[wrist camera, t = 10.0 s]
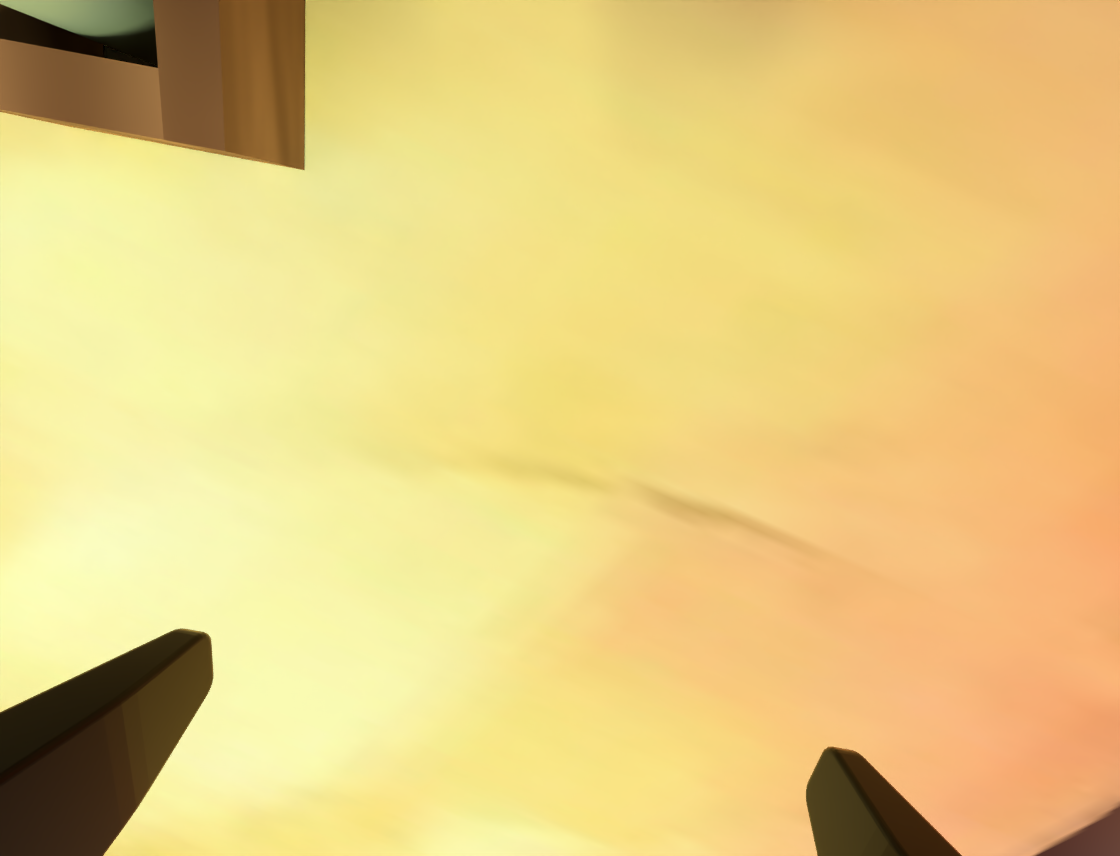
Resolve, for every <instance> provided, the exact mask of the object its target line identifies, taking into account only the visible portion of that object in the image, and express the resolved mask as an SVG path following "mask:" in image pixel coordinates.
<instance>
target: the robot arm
mask: <svg viewBox="0 0 1120 856" xmlns="http://www.w3.org/2000/svg"><path fill="white" fill-rule="evenodd" d="M212 681H213V661H212V645H211V638H210V636H209V635H208V634H207V633H205V632H200V631H194V630H189V629H176V630H173V631H171V632H169V633H166V634H164V635H162V636H160V637H158V638H156V639H154V640H152V641H150V642H147V643H145V644H143V645H141V646H139V647H137V648H135V649H133V650H131V651H128V652H126V653H124V654H122V655H120V656H118V657H116V658H114V659H112V660H110V661H107V662H105V663H103V664H101V665H99V666H97V667H95V668H93V669H91V670H88V671H86V672H84V673H82V674H80V675H78V676H76V677H74V678H72V679H69V680H67V681H65V682H63V683H61V684H59V685H57V686H55V687H53V688H50V689H48V690H46V691H44V692H42V693H40V694H38V695H36V696H34V697H31V698H29V699H27V700H25V701H23V702H21V703H19V704H17V705H15V706H12V707H10V708H8V709H6V710H4V711H2V712H0V856H103V855H104V854H105V852H106V851H107V850H108V848H109V847H110V845H111V844H112V843H113V841H114V840H115V839H116V837H117V836H118V835H119V833H120V832H121V830H122V829H123V828H124V826H125V825H126V823H127V822H128V821H129V819H130V818H131V816H132V815H133V813H134V812H135V811H136V809H137V808H138V806H139V805H140V803H141V802H142V800H143V798H144V797H145V795H146V794H147V792H148V791H149V789H150V788H151V786H152V784H153V783H154V781H155V779H156V778H157V776H158V774H159V773H160V771H161V770H162V768H163V766H164V765H165V763H166V761H167V760H168V758H169V756H170V755H171V753H172V752H173V750H174V748H175V747H176V745H177V743H178V742H179V740H180V739H181V737H182V735H183V734H184V732H185V730H186V729H187V727H188V725H189V724H190V722H191V721H192V719H193V717H194V716H195V714H196V712H197V711H198V709H199V707H200V706H201V704H202V703H203V701H204V699H205V698H206V696H207V694H208V692H209V690H210V688H211V685H212ZM806 802H807V807H808V812H809V817H810V822H811V826H812V831H813V836H814V841H815V845H816V850H817V855H818V856H962V855H961V854H960V853H959V852H958V851H957V850H956V849H955V848H954V847H953V846H952V845H951V844H950V843H949V842H948V841H947V840H946V839H945V838H944V837H943V836H942V835H941V834H940V833H939V832H938V831H937V830H936V829H935V828H934V827H933V826H932V825H931V824H930V823H929V822H928V821H927V820H926V819H925V818H924V817H923V816H922V815H921V814H920V813H919V812H918V811H917V810H916V809H915V808H914V807H913V806H912V805H911V804H910V803H909V802H908V801H907V800H906V799H905V798H904V797H903V796H902V795H901V794H900V793H899V792H898V791H897V790H896V789H895V788H894V787H893V786H892V785H891V784H890V783H889V782H888V781H887V780H886V779H885V778H884V777H883V776H882V775H881V774H880V773H879V772H878V771H877V770H876V769H875V768H874V767H873V766H872V765H871V764H870V763H869V762H868V761H867V760H866V759H865V758H864V757H863V756H861V755H860V754H859V753H857V752H855V751H853V750H848V749H842V748H837V747H828V748H826V749H825V750H824V751H823V753H822V755H821V757H820V759H819V761H818V763H817V765H816V767H815V769H814V771H813V773H812V775H811V777H810V779H809V781H808V784H807V789H806Z"/></svg>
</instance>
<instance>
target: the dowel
mask: <svg viewBox="0 0 1120 856" xmlns="http://www.w3.org/2000/svg"><path fill="white" fill-rule="evenodd" d="M0 4H2V5H4V6H7V7H9V8H12V9H15V10H17V11H20V12H22V13H25V14H27V15H30V16H32V17H35V18H37V19H40V20H42V21H45V22H47V23H50V24H52V25H55V26H58V27H60V28H63V29H65V30H68V31H70V32H73V33H75V34H78V35H80V36H83V37H85V38H88V39H90V40H93V41H95V42H98V43H100V44H103V45H106V46H108V47H111V48H113V49H116V50H118V51H121V52H123V53H126V54H128V55H131V56H133V57H136V58H138V59H141V60H143V61H146V62H149V63H151V64H154V65H156V66H158V60H157V47H156V34H155V21H154V8H153V0H0Z"/></svg>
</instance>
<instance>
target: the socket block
mask: <svg viewBox="0 0 1120 856" xmlns="http://www.w3.org/2000/svg"><path fill="white" fill-rule="evenodd" d="M153 8H154V21H155V34H156V47H157V60H158V68H155V67H150V66H144V65H139V64H134V63H128V62H123V61H117V60H112V59H107V58H104V55H103V46H102V44H100V43H98V42H95V41H93V40H90V39H88V38H85V37H83V36H80V35H78V34H75V33H73V32H70V31H68V30H65V29H63V28H60V27H58V26H55V25H52V24H50V23H47V22H45V21H42V20H40V19H37V18H35V17H32V16H30V15H27V14H25V13H22V12H20V11H17V10H15V9H12V8H9V7H7V6H4V5H2V4H0V112H4V113H8V114H13V115H18V116H22V117H27V118H32V119H36V120H41V121H46V122H51V123H55V124H60V125H65V126H70V127H75V128H81V129H86V130H92V131H97V132H102V133H108V134H113V135H119V136H124V137H129V138H135V139H140V140H146V141H151V142H156V143H162V144H167V145H172V146H178V147H183V148H189V149H194V150H199V151H205V152H210V153H216V154H221V155H226V156H232V157H237V158H243V159H248V160H253V161H259V162H264V163H269V164H275V165H280V166H286V167H291V168H296V169H302V170H304V81H305V0H153Z"/></svg>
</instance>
